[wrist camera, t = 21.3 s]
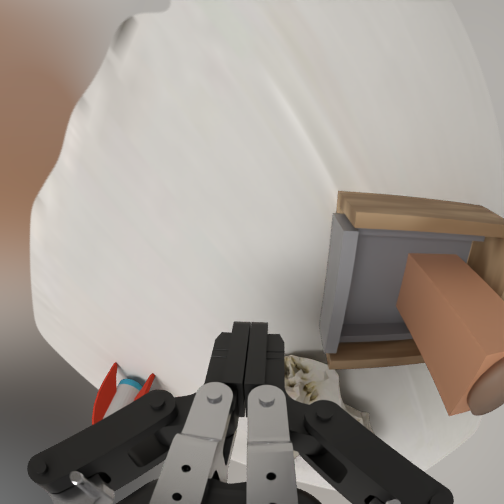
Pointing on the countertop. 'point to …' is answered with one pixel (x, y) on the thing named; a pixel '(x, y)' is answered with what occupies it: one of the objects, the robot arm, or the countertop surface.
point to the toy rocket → (117, 394)
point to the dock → (424, 220)
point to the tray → (373, 279)
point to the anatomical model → (316, 386)
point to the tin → (455, 330)
